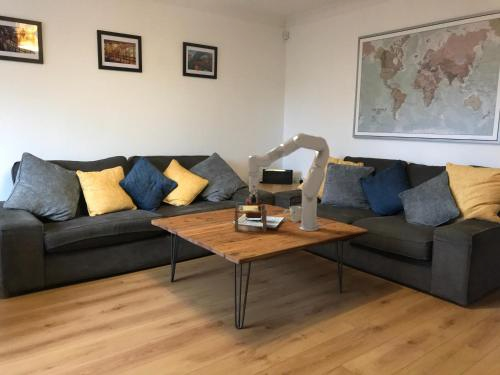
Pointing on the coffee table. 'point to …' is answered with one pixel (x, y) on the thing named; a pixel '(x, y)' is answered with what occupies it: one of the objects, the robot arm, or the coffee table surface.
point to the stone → (252, 196)
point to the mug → (294, 213)
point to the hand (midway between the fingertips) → (253, 201)
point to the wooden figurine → (253, 215)
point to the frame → (247, 228)
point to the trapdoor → (248, 208)
